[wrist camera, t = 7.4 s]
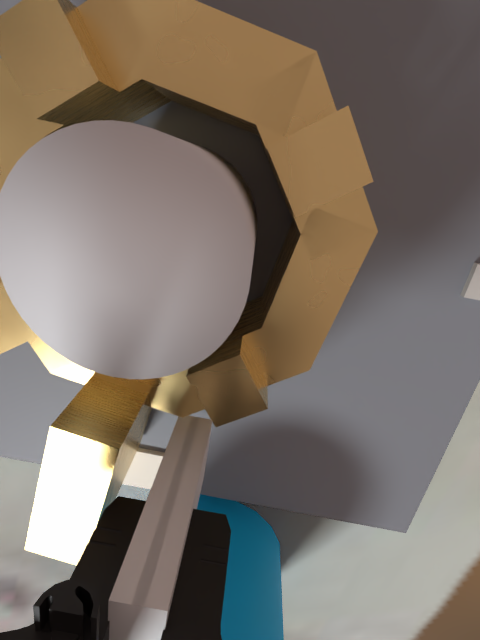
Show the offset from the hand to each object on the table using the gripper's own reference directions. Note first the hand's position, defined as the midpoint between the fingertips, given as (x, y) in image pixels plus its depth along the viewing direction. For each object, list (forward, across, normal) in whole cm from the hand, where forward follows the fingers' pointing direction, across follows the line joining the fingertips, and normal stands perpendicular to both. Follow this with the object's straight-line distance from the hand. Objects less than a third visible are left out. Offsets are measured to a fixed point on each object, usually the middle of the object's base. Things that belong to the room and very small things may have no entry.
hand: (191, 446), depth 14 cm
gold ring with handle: (+1, -2, +6) cm, 6 cm away
